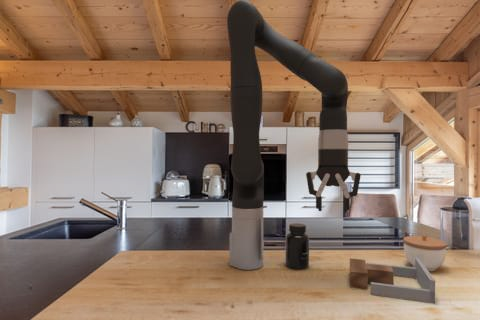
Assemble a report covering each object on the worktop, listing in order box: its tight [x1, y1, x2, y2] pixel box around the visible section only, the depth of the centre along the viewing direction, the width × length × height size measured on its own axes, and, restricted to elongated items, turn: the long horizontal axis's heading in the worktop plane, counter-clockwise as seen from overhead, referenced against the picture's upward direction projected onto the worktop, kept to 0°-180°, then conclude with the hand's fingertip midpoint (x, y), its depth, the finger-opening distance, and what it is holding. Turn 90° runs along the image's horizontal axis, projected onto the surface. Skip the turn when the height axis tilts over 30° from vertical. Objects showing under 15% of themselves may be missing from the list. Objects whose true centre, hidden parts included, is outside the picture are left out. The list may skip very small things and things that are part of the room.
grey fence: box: [366, 258, 436, 304], centre depth 77 cm, size 13×15×5 cm
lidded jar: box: [402, 234, 447, 272], centre depth 89 cm, size 11×11×9 cm
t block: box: [349, 258, 394, 291], centre depth 79 cm, size 10×10×4 cm
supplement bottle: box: [284, 222, 310, 270], centre depth 90 cm, size 7×7×12 cm
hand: (332, 211), depth 82 cm, fingers open, 5 cm apart
